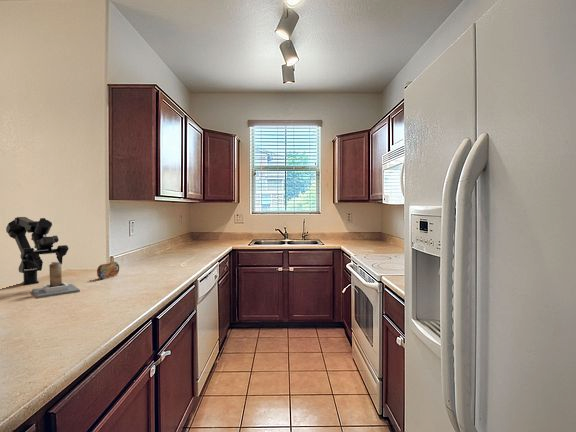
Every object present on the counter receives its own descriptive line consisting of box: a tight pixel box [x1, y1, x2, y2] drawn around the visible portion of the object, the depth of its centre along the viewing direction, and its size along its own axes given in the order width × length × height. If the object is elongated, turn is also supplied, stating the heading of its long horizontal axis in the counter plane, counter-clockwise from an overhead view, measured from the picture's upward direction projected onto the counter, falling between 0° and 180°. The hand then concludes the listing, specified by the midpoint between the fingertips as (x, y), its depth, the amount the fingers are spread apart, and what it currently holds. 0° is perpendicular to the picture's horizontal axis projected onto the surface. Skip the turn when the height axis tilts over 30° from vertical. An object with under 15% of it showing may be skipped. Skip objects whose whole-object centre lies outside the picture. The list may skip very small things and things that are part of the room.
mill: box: [48, 261, 63, 287], centre depth 155 cm, size 5×5×13 cm
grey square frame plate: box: [31, 281, 81, 299], centre depth 155 cm, size 16×16×3 cm
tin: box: [96, 261, 120, 280], centre depth 188 cm, size 15×3×8 cm, turn 168°
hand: (50, 265), depth 158 cm, fingers open, 9 cm apart
